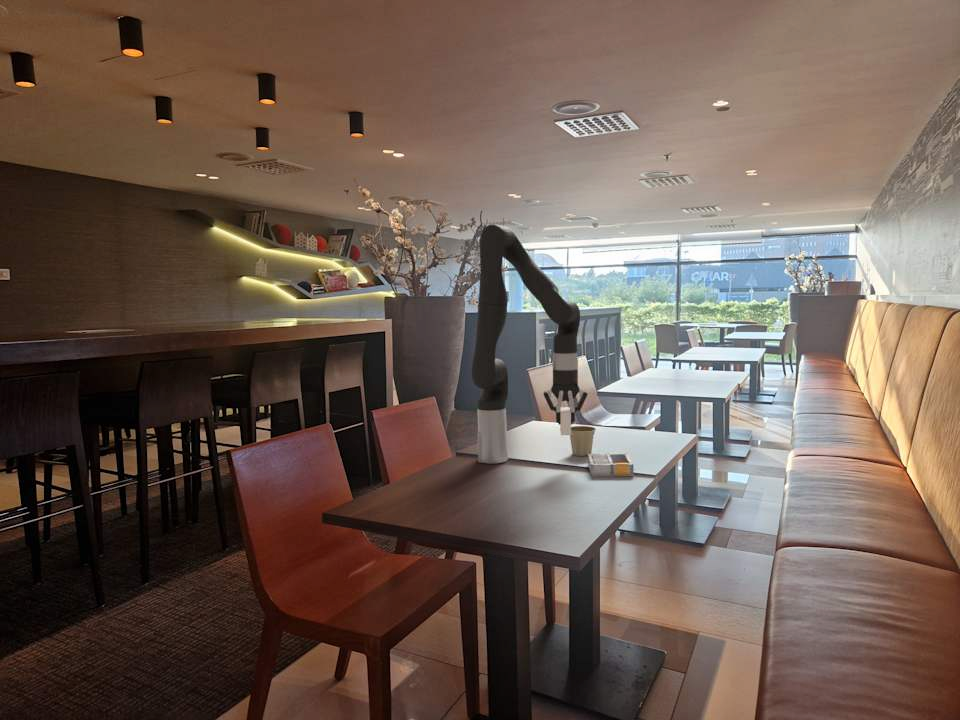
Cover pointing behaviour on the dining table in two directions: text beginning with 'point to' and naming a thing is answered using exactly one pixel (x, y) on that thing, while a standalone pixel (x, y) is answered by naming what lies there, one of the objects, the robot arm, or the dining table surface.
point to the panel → (565, 421)
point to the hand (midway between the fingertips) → (565, 423)
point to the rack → (610, 465)
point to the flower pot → (582, 440)
